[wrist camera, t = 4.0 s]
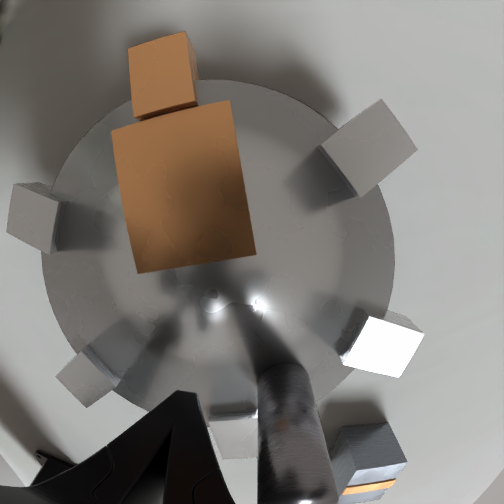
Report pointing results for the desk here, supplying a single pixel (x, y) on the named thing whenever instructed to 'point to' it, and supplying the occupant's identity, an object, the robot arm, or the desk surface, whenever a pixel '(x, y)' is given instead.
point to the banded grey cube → (365, 462)
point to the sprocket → (224, 259)
